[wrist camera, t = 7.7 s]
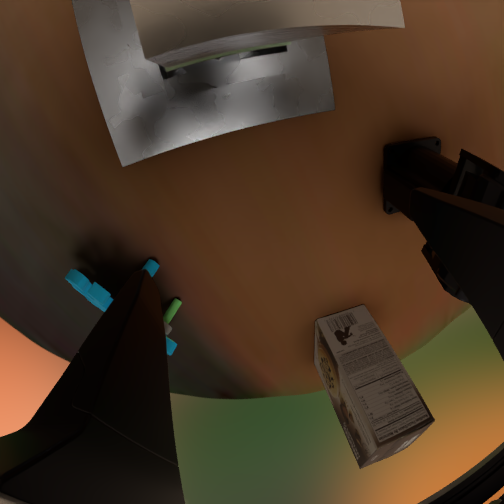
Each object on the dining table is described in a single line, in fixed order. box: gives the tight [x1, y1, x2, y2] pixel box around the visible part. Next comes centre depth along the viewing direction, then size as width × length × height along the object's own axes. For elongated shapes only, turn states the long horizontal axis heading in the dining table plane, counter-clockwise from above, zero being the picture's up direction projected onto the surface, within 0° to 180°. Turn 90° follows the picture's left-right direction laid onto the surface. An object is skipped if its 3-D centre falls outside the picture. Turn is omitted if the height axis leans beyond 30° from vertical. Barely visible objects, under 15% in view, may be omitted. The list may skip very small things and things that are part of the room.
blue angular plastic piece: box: [65, 259, 181, 355], centre depth 21 cm, size 11×6×10 cm
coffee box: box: [314, 305, 435, 469], centre depth 28 cm, size 9×6×16 cm
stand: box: [72, 0, 335, 167], centre depth 11 cm, size 14×14×7 cm
